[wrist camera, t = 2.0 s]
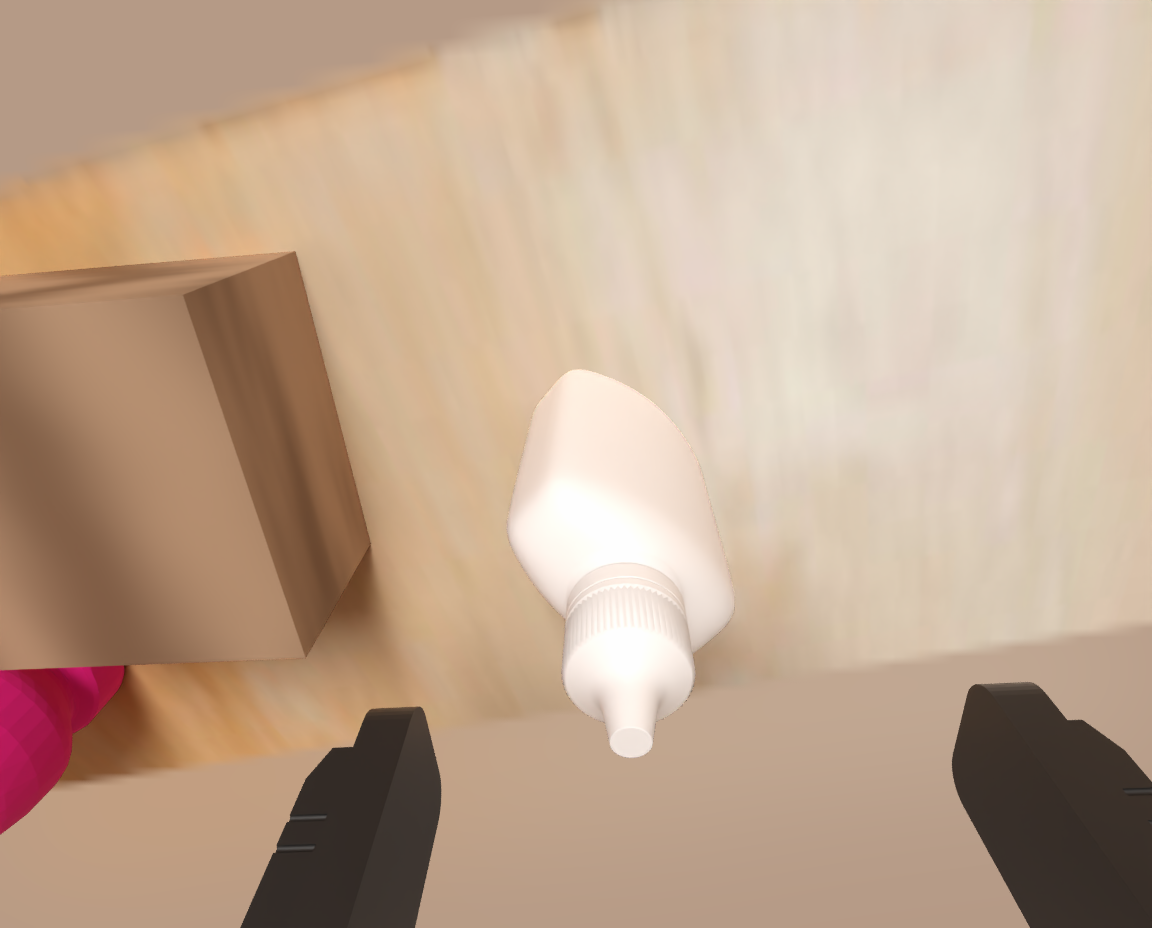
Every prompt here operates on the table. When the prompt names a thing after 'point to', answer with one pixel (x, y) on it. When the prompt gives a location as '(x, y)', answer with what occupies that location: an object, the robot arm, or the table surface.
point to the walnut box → (168, 467)
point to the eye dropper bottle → (619, 551)
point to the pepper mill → (44, 728)
